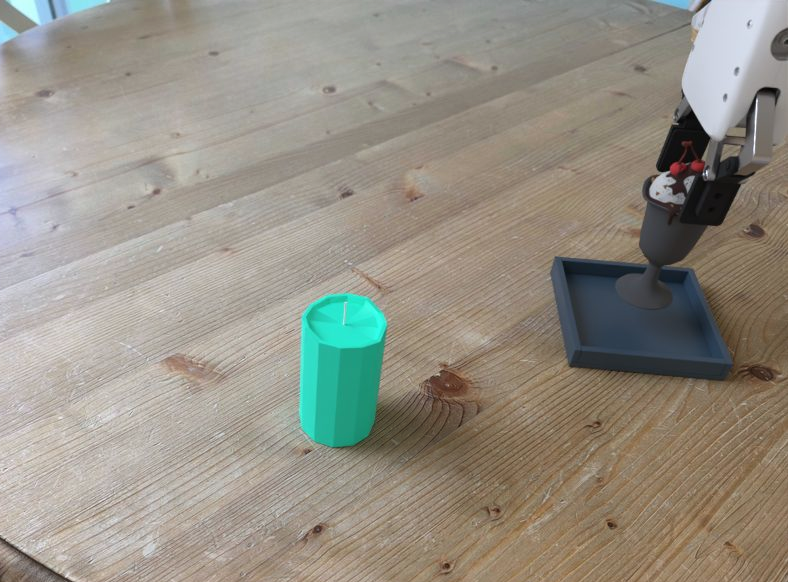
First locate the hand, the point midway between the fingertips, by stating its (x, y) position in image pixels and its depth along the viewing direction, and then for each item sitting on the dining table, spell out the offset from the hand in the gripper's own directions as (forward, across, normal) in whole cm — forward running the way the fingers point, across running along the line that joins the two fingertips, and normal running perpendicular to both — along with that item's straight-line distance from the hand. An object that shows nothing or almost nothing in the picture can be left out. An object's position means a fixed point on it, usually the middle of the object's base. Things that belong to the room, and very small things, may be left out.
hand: (686, 194), depth 59 cm
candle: (+14, -15, +26) cm, 33 cm away
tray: (+14, 0, 0) cm, 14 cm away
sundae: (+10, 0, 0) cm, 10 cm away
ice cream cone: (+14, +49, -17) cm, 54 cm away
